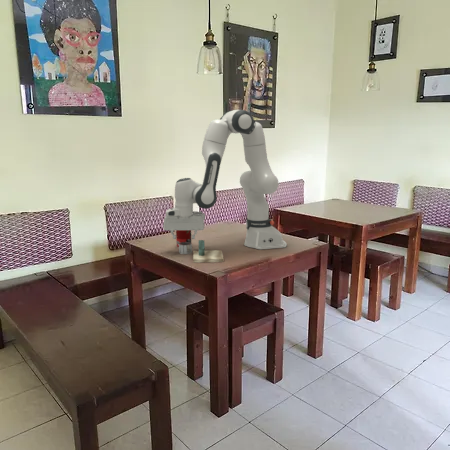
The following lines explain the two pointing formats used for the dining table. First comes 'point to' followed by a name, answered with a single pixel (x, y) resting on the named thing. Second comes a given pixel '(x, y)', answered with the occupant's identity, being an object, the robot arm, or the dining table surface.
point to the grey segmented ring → (185, 247)
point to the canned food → (183, 236)
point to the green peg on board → (207, 254)
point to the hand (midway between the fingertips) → (183, 238)
